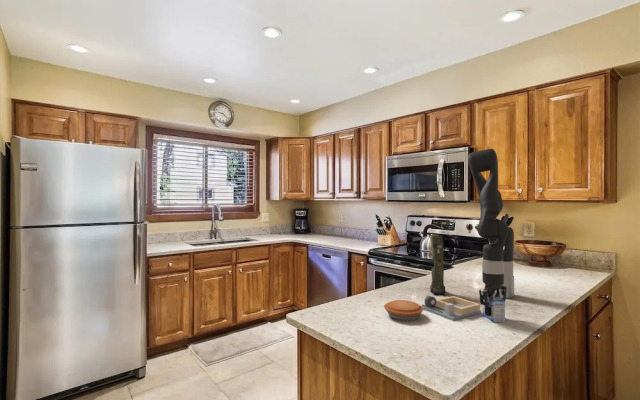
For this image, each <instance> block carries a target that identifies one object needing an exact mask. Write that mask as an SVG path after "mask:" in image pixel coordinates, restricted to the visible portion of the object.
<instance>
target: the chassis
mask: <svg viewBox="0 0 640 400" xmlns="http://www.w3.org/2000/svg"><path fill="white" fill-rule="evenodd" d="M420 306H422V307H423V309H424V310H423V311H427V312H429V313H432V314H434V315H436V316H440V317H442V318H445V319H447V320H450V321H452V322H453V321H456V320H459V319H464V318H467V317H472V316H474V315H479V314H481V313H482V310H481V303H477V302H473V301H471V300H467V299H464V298H461V297H458V296H455V295H452V296H448V297H443V298H438V299H437V298H436V305H435V306H434V307H429V306H426V305H425V303H422V305H420Z"/></svg>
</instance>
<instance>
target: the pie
mask: <svg viewBox="0 0 640 400" xmlns="http://www.w3.org/2000/svg"><path fill="white" fill-rule="evenodd" d="M383 308H384V309H385V311H386V313H388V315H389V317H390V318H391V319H394V320H397V321H403V322H406V321H407V322H409V321H410V322H411V321H415V320H417V319H418V318H419V317H420V315H421V314H422V313H423V312H424V311H425V310H424V309H423V307H422V306H421V305H420V304H419V303H417V302H415V301H412V300H406V299H405V300H404V299H396V300H391V301H389V302H387V303H384V305H383Z"/></svg>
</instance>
